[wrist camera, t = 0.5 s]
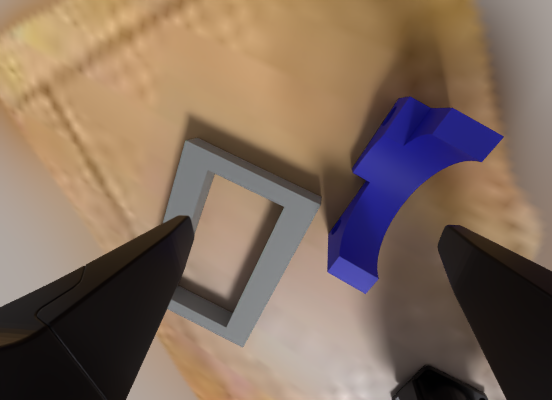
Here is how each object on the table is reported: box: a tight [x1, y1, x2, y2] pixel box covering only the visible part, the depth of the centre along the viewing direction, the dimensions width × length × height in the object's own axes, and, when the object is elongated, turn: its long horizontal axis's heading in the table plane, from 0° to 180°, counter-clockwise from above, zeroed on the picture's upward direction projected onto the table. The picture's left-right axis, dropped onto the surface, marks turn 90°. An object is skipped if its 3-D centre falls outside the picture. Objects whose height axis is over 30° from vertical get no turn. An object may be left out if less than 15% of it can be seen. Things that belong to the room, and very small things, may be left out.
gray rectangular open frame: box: [163, 138, 321, 347], centre depth 25 cm, size 12×18×2 cm, turn 157°
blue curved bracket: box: [327, 96, 504, 294], centre depth 18 cm, size 12×4×6 cm, turn 152°
